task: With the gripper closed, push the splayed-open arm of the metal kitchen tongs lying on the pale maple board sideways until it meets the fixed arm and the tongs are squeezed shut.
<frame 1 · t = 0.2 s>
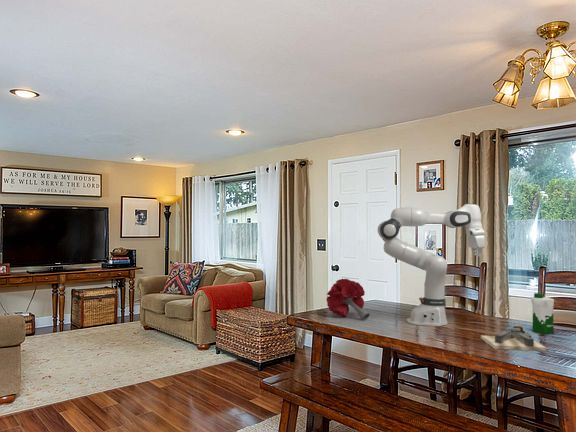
hand: (477, 255, 237), 39 cm above the table, tool pointing down, fingers open, 8 cm apart
board: (512, 344, 194), on the table
tongs arm: (502, 336, 195), point 3 cm above the table, hinge at 38.0°
bouquet: (348, 317, 253), on the table
milk carton: (543, 332, 218), on the table
burger: (517, 337, 209), on the table
tongs fixed: (512, 340, 201), resting on board
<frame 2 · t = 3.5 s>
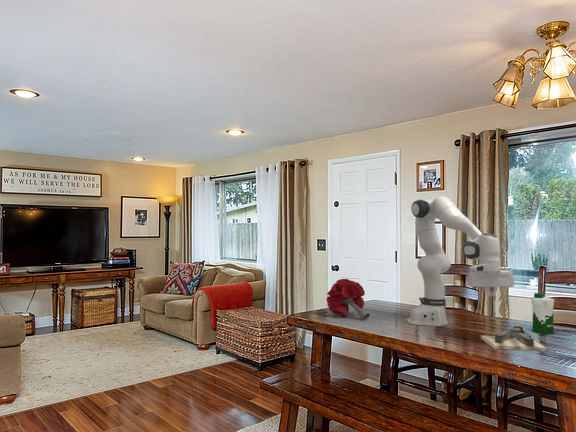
hand: (491, 296, 199), 22 cm above the table, tool pointing down, fingers closed
nothing on the table moved.
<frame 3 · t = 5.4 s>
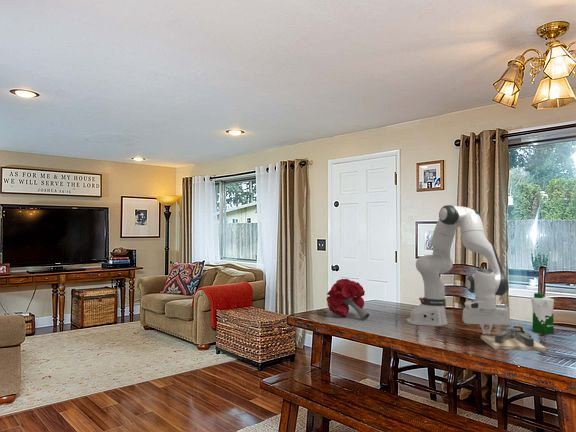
hand: (486, 333, 193), 5 cm above the table, tool pointing down, fingers closed
nothing on the table moved.
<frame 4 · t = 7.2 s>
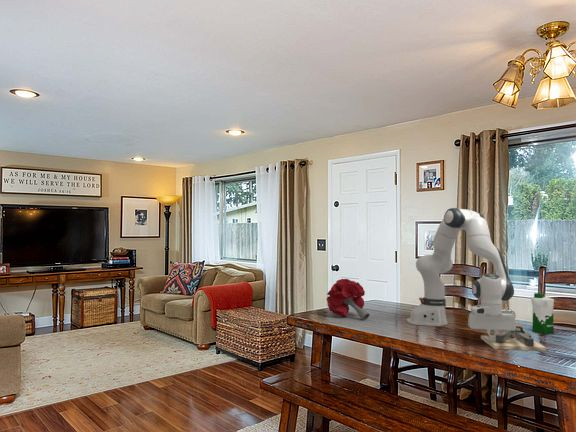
hand: (491, 339, 193), 3 cm above the table, tool pointing down, fingers closed
tongs arm: (503, 336, 195), point 3 cm above the table, hinge at 36.8°, touching gripper
everything else where it was.
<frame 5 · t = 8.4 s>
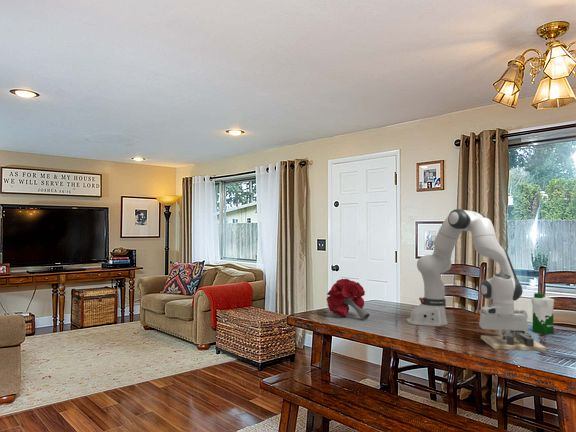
hand: (503, 339, 192), 3 cm above the table, tool pointing down, fingers closed
tongs arm: (509, 337, 193), point 3 cm above the table, hinge at 18.8°, touching gripper
everything else where it was.
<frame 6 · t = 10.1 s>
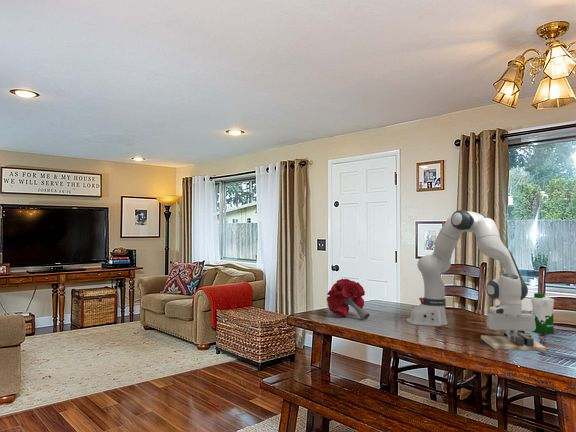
hand: (511, 339, 191), 3 cm above the table, tool pointing down, fingers closed
tongs arm: (516, 338, 192), point 3 cm above the table, hinge at 3.1°, touching gripper
everything else where it was.
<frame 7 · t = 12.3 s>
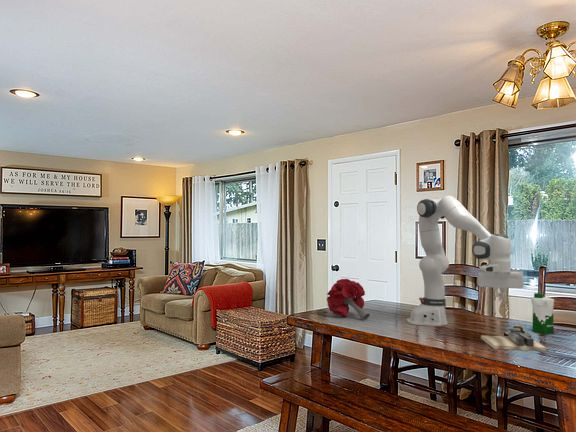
hand: (500, 297, 198), 21 cm above the table, tool pointing down, fingers closed
tongs arm: (516, 338, 192), point 3 cm above the table, hinge at 3.0°
everything else where it was.
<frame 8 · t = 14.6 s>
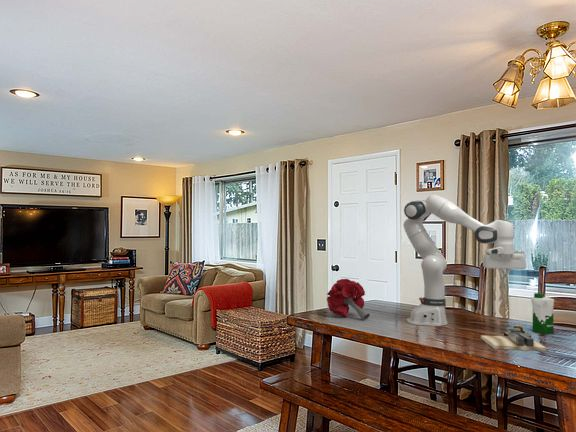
hand: (504, 277, 214), 29 cm above the table, tool pointing down, fingers closed
nothing on the table moved.
at the end: tongs arm at +3° (first picture: +38°); tongs arm touching nothing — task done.
